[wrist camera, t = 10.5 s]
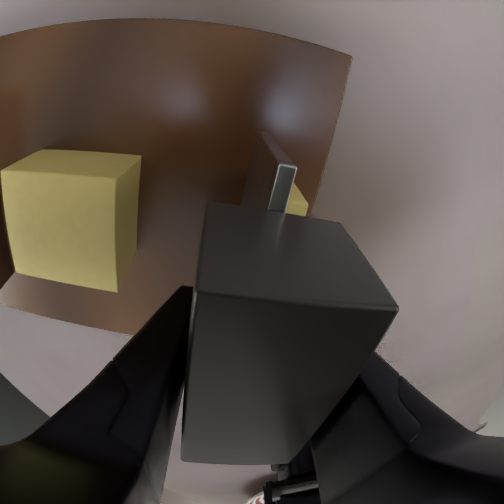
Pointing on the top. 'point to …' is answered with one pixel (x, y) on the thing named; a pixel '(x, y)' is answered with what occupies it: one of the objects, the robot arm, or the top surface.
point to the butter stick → (73, 215)
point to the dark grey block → (274, 322)
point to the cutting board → (160, 136)
